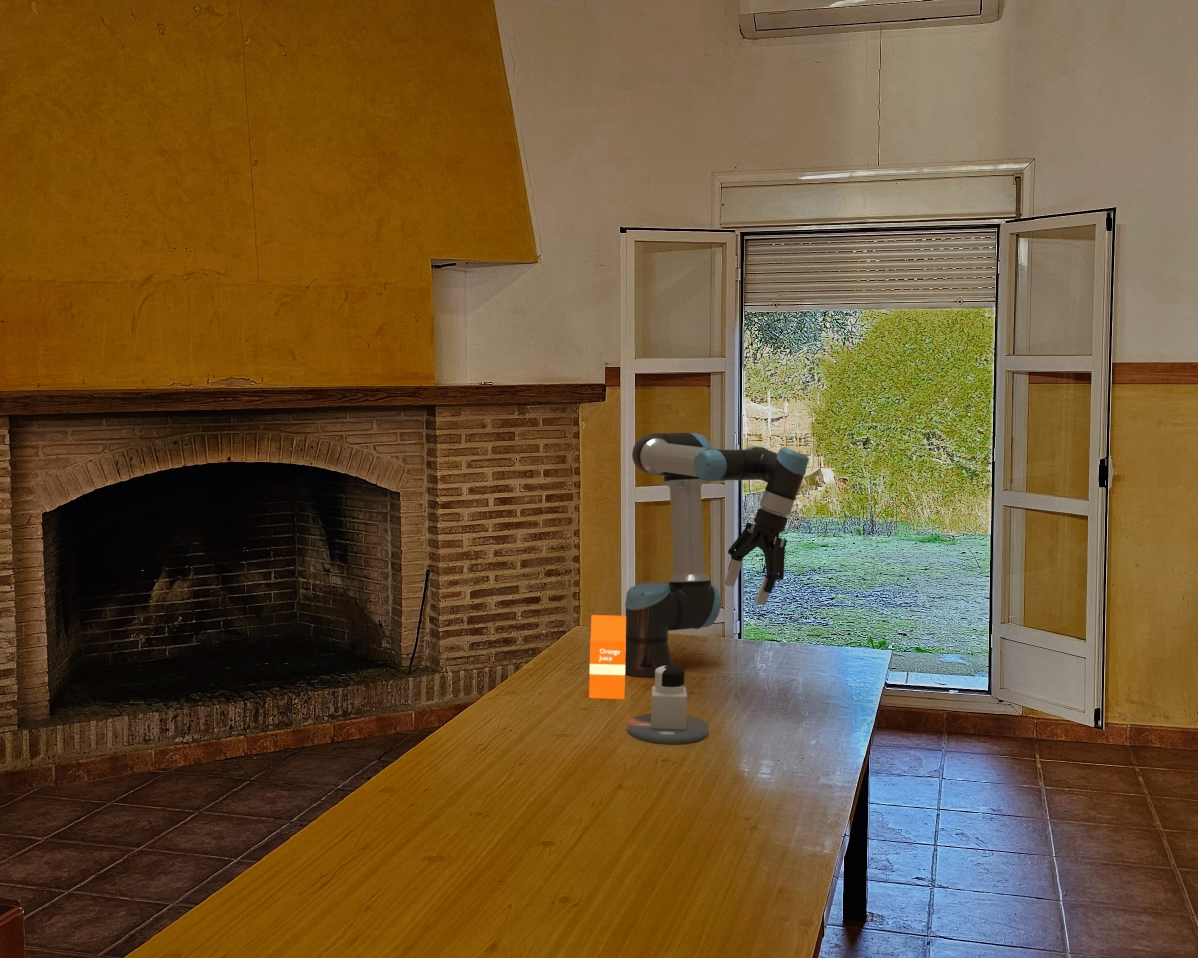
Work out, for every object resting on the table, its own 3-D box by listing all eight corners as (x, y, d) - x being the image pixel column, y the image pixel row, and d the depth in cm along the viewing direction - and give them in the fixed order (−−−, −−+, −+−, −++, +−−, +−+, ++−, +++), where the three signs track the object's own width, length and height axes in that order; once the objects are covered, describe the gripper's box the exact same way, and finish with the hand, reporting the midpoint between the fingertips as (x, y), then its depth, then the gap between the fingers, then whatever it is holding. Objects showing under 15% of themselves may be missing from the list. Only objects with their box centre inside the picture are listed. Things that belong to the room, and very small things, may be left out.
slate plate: (611, 730, 250) (611, 723, 250) (663, 714, 263) (663, 708, 263) (673, 749, 238) (673, 742, 238) (724, 732, 251) (724, 725, 251)
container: (685, 720, 254) (686, 663, 253) (686, 730, 246) (687, 672, 245) (651, 718, 254) (652, 662, 253) (650, 729, 247) (652, 671, 246)
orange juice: (624, 698, 276) (626, 619, 274) (588, 698, 276) (590, 618, 274) (624, 690, 283) (626, 612, 282) (589, 689, 284) (591, 611, 282)
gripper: (817, 529, 259) (786, 615, 261) (756, 502, 280) (728, 580, 282) (792, 522, 255) (761, 609, 257) (733, 495, 277) (704, 575, 279)
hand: (743, 594), depth 270 cm, fingers open, 13 cm apart
